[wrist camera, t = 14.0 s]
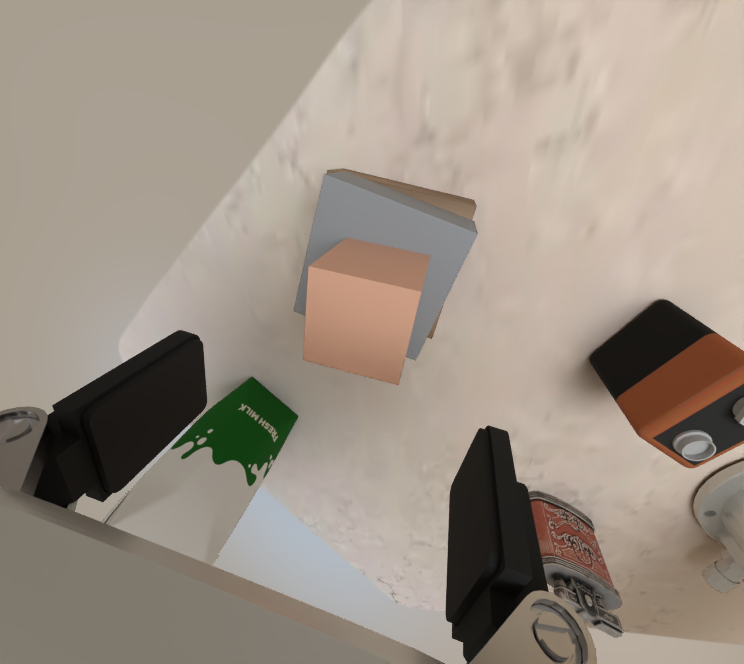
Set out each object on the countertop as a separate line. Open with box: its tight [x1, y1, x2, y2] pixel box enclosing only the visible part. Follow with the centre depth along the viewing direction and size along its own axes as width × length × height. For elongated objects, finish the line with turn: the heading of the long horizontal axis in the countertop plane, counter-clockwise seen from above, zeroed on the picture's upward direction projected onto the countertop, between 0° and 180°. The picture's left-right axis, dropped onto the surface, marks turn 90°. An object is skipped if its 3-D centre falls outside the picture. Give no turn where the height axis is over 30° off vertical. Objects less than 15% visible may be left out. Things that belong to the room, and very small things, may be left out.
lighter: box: [528, 491, 624, 638], centre depth 32 cm, size 8×3×10 cm, turn 62°
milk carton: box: [102, 377, 298, 566], centre depth 31 cm, size 9×9×20 cm
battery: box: [589, 300, 744, 468], centre depth 22 cm, size 4×7×10 cm, turn 149°
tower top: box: [294, 171, 478, 361], centre depth 22 cm, size 9×9×4 cm
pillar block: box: [303, 238, 431, 385], centre depth 18 cm, size 5×5×6 cm
